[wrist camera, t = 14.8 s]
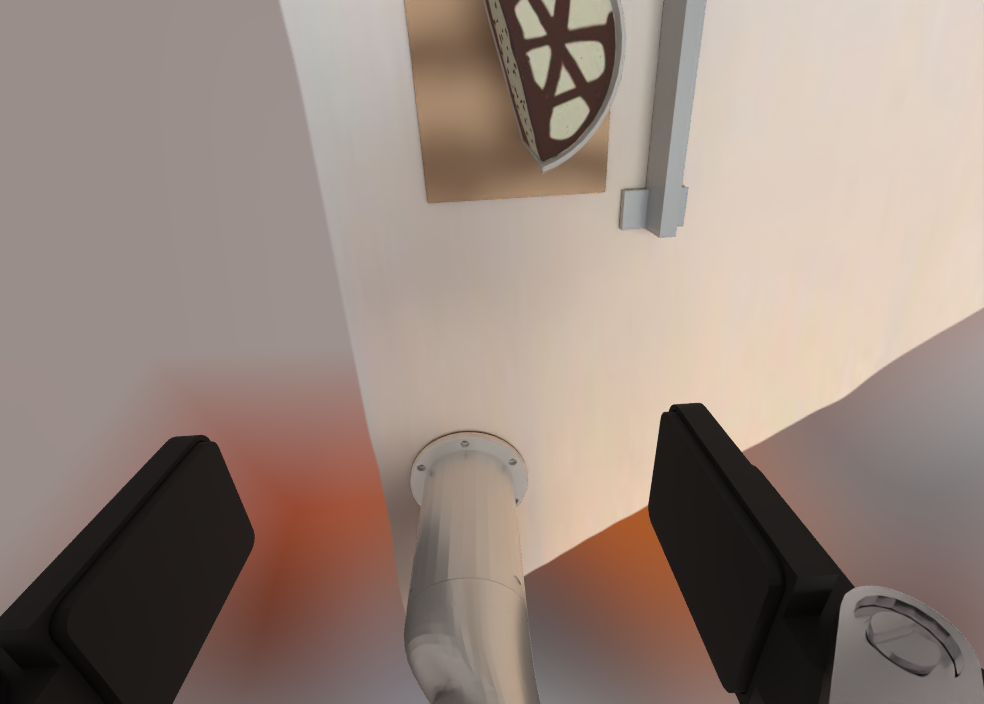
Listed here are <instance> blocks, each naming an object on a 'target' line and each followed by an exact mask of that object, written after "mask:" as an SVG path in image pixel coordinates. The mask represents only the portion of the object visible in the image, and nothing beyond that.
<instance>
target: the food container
mask: <svg viewBox="0 0 984 704" xmlns="http://www.w3.org/2000/svg"><path fill="white" fill-rule="evenodd" d="M483 3H484V6H485V10H486V13H487V17H488V21H489V24H490V28H491V32H492V35H493V39H494V43H495V46H496V50H497V53H498V57H499V61H500V64H501V68H502V72H503V75H504V79H505V83H506V86H507V90H508V93H509V97H510V101H511V104H512V108H513V112H514V115H515V119H516V123H517V126H518V130H519V133H520V137H521V141H522V143H523V144H524V146H525V147H526V148H527V149H528V151H529V152H530V153H531V154H532V156H533V157H534V158H535V160H536V161H537V162H538V163H539V165H540V166H541V167H542V170H541V174H543V173H546V172H548V171H550V170H552V169H554V168H556V167H558V166H559V165H561V164H562V163H564V162H565V161H567V160H568V159H570V158H571V157H572V156H573V155H574V154H576V153H577V152H578V151H579V150H580V149H581V148H582V147H583V146H584V145H585V144H586V143H587V142H588V140H589V139H590V138H591V137H592V136H593V135H594V133H595V132H596V131H597V130H598V128H599V126H600V125H601V123H602V122H603V120H604V119H605V117H606V115H607V113H608V111H609V109H610V107H611V105H612V103H613V100H614V98H615V96H616V93H617V89H618V86H619V83H620V80H621V76H622V70H623V64H624V59H625V41H626V33H625V22H624V13H623V8H622V4H621V0H483Z"/></svg>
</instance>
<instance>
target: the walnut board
mask: <svg viewBox="0 0 984 704" xmlns="http://www.w3.org/2000/svg"><path fill="white" fill-rule="evenodd" d="M405 8H406V17H407V25H408V34H409V43H410V52H411V60H412V69H413V78H414V86H415V95H416V104H417V113H418V121H419V130H420V139H421V147H422V156H423V165H424V174H425V182H426V191H427V200H428V203H439V202H455V201H471V200H487V199H503V198H519V197H535V196H552V195H568V194H584V193H600V192H605V188H606V171H607V154H608V137H609V120H610V109H609V111H608V113H607V115H606V117H605V119H604V120H603V122H602V123H601V125H600V126H599V128H598V130H597V131H596V132H595V133H594V135H593V136H592V137H591V138H590V139H589V140H588V142H587V143H586V144H585V145H584V146H583V147H582V148H581V149H580V150H579V151H578V152H577V153H576V154H574V155H573V156H572V157H571V158H570V159H568V160H567V161H565V162H564V163H562V164H561V165H559V166H558V167H556V168H554V169H552V170H550V171H548V172H546V173H543V174H541V170H542V167H541V166H540V165H539V163H538V162H537V161H536V160H535V158H534V157H533V156H532V154H531V153H530V152H529V151H528V149H527V148H526V147H525V146H524V144H523V143H522V141H521V137H520V133H519V130H518V126H517V123H516V119H515V115H514V112H513V108H512V104H511V101H510V97H509V93H508V90H507V86H506V83H505V79H504V75H503V72H502V68H501V64H500V61H499V57H498V53H497V50H496V46H495V43H494V39H493V35H492V32H491V28H490V24H489V21H488V17H487V13H486V10H485V6H484V3H483V0H405Z"/></svg>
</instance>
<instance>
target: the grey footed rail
mask: <svg viewBox="0 0 984 704" xmlns="http://www.w3.org/2000/svg"><path fill="white" fill-rule="evenodd" d="M705 8H706V0H664V5H663V15H662V25H661V36H660V46H659V56H658V67H657V77H656V87H655V98H654V108H653V118H652V129H651V139H650V149H649V160H648V170H647V180H646V188H645V189H629V190H622V197H621V211H620V224H619V228H620V229H621V230H630V229H647V230H648V231H650V232H651V233H653V234H654V235H656V236H658V237H659V238H664V237H675V236H676V228H677V227H678V226H683V223H684V216H685V209H686V201H687V194H688V187H686V186H682V182H683V175H684V167H685V160H686V152H687V144H688V137H689V129H690V122H691V114H692V106H693V99H694V91H695V84H696V76H697V68H698V61H699V53H700V46H701V38H702V30H703V23H704V15H705Z"/></svg>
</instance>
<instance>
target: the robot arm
mask: <svg viewBox="0 0 984 704" xmlns="http://www.w3.org/2000/svg"><path fill="white" fill-rule="evenodd" d="M527 482H528V479H527V471H526V467H525V464H524V461H523V460H522V458H521V456H520V454H519V453H518V452H517V451H516V450H515V449H514V448H513V447H512V446H511V445H509V444H508V443H506V442H505V441H503V440H501V439H499V438H497V437H494V436H491V435H488V434H483V433H476V432H461V433H456V434H450V435H447V436H445V437H442V438H439V439H437V440H436V441H434V442H432V443H430V444H429V445H428V446H427V447H425V448H424V449H423V450H422V451H421V452H420V454H419V455H418V456H417V457H416V459H415V462H414V464H413V466H412V470H411V475H410V488H411V493H412V495H413V497H414V499H415V501H416V502H417V504H418V505H419V506H420V507H421V510H420V517H419V524H418V531H417V539H416V546H415V553H414V560H413V568H412V575H411V582H410V589H409V597H408V604H407V611H406V619H405V627H404V644H405V652H406V656H407V660H408V663H409V666H410V668H411V670H412V673H413V675H414V677H415V679H416V681H417V682H418V684H419V686H420V688H421V690H422V691H423V693H424V695H425V696H426V698H427V699H428V701H429V702H430V704H540V699H539V694H538V689H537V683H536V678H535V672H534V665H533V657H532V650H531V642H530V633H529V624H528V615H527V606H526V596H525V587H524V577H523V568H522V558H521V549H520V540H519V530H518V521H517V511H516V507H517V506H518V505H519V504H520V502H521V501H522V499H523V497H524V495H525V492H526V490H527ZM648 510H649V517H650V521H651V523H652V526H653V528H654V530H655V532H656V535H657V537H658V539H659V542H660V544H661V546H662V548H663V551H664V553H665V556H666V558H667V560H668V562H669V565H670V567H671V569H672V571H673V574H674V576H675V578H676V581H677V583H678V585H679V587H680V590H681V592H682V594H683V597H684V599H685V601H686V604H687V606H688V608H689V611H690V613H691V615H692V617H693V619H694V622H695V624H696V627H697V629H698V631H699V633H700V635H701V638H702V640H703V642H704V645H705V647H706V650H707V652H708V654H709V656H710V659H711V661H712V663H713V665H714V668H715V670H716V672H717V675H718V677H719V679H720V681H721V683H722V685H723V687H724V688H725V690H726V691H727V692H728V693H735V694H736V696H737V698H738V700H739V703H740V704H984V669H982V668H981V667H980V665H979V662H978V659H977V656H976V653H975V651H974V650H973V648H972V647H971V646H970V644H969V643H968V641H967V640H966V639H965V637H964V636H963V635H962V634H961V633H960V632H959V631H958V630H957V629H956V628H955V627H954V626H953V625H952V624H951V623H950V622H949V621H948V620H947V619H946V618H944V617H943V616H942V615H940V614H939V613H937V612H936V611H935V610H933V609H932V608H930V607H929V606H927V605H926V604H924V603H922V602H920V601H918V600H916V599H914V598H912V597H911V596H908V595H907V594H904V593H901V592H898V591H895V590H892V589H889V588H885V587H877V586H862V587H856V588H855V587H854V586H853V585H852V583H851V582H850V581H849V580H848V578H847V577H846V576H845V575H844V573H843V572H842V571H841V570H840V569H839V567H838V566H837V565H836V564H835V562H834V561H833V560H832V559H831V557H830V556H829V555H828V554H827V552H826V551H825V550H824V549H823V547H822V546H821V545H820V544H819V543H818V541H817V540H816V539H815V538H814V536H813V535H812V534H811V533H810V531H809V530H808V529H807V528H806V527H805V525H804V524H803V523H802V522H801V520H800V519H799V518H798V517H797V515H796V514H795V513H794V512H793V510H792V509H791V508H790V507H789V505H788V504H787V503H786V502H785V501H784V499H783V498H782V497H781V496H780V494H779V493H778V492H777V491H776V489H775V488H774V487H773V486H772V485H771V483H770V482H769V481H768V480H767V479H766V477H765V476H764V475H763V473H762V472H761V471H760V470H759V469H758V468H757V467H755V466H753V465H751V464H750V462H749V461H748V460H747V458H746V457H745V456H744V455H743V453H742V452H741V451H740V450H739V448H738V447H737V446H736V445H735V443H734V442H733V441H732V440H731V438H730V437H729V436H728V435H727V433H726V432H725V431H724V430H723V428H722V427H721V426H720V425H719V423H718V422H717V421H716V420H715V418H714V417H713V416H712V415H711V413H710V412H709V411H708V410H707V408H706V407H705V406H704V405H703V404H701V403H689V404H674V405H672V406H671V407H670V409H669V412H664V413H663V414H662V415H661V420H660V427H659V434H658V441H657V448H656V455H655V462H654V469H653V476H652V483H651V490H650V497H649V504H648ZM254 539H255V538H254V530H253V528H252V526H251V523H250V521H249V518H248V516H247V513H246V511H245V509H244V506H243V504H242V502H241V499H240V497H239V494H238V492H237V490H236V487H235V485H234V483H233V480H232V478H231V476H230V473H229V471H228V468H227V466H226V464H225V461H224V459H223V456H222V454H221V452H220V449H219V447H218V445H217V444H216V443H215V442H212V441H210V440H209V438H208V437H206V436H204V435H194V436H180V437H173V438H171V439H169V440H168V441H167V442H166V443H165V444H164V445H163V446H162V447H161V448H160V449H159V450H158V451H157V453H155V454H154V456H153V457H152V458H151V459H150V460H149V461H148V462H147V463H146V464H145V465H144V466H143V467H142V468H141V469H140V470H139V471H138V472H137V474H135V476H134V477H133V478H132V479H131V480H130V481H129V482H128V483H127V484H126V485H125V486H124V487H123V488H122V489H121V490H120V491H119V492H118V493H117V495H116V496H115V497H114V498H113V499H112V500H111V501H110V502H109V503H108V504H107V505H106V506H105V507H104V508H103V509H102V510H101V511H100V512H99V513H98V515H96V517H95V518H94V519H93V520H92V521H91V522H90V523H89V524H88V525H87V526H86V527H85V528H84V529H83V530H82V531H81V532H80V533H79V535H77V536H76V538H75V539H74V540H73V541H72V542H71V543H70V544H69V545H68V546H67V547H66V548H65V549H64V550H63V551H62V552H61V554H59V555H58V556H57V558H56V559H55V560H54V561H53V562H52V563H51V564H50V565H49V566H48V567H47V568H46V569H45V570H44V571H43V572H42V573H41V574H40V575H39V577H37V579H36V580H35V581H34V582H33V583H32V584H31V585H30V586H29V587H28V588H27V589H26V590H25V591H24V592H23V593H22V594H21V595H20V596H19V597H18V599H17V600H16V601H15V602H14V603H13V604H12V605H11V606H10V607H9V608H8V609H7V610H6V611H5V612H4V613H3V614H2V615H1V616H0V704H173V701H174V700H175V697H176V696H177V694H178V692H179V690H180V688H181V686H182V684H183V682H184V680H185V678H186V676H187V674H188V673H189V671H190V669H191V667H192V665H193V663H194V661H195V659H196V657H197V655H198V653H199V651H200V649H201V647H202V645H203V643H204V642H205V639H206V637H207V636H208V634H209V632H210V630H211V628H212V626H213V624H214V622H215V620H216V618H217V616H218V614H219V612H220V611H221V609H222V606H223V605H224V603H225V601H226V599H227V597H228V595H229V593H230V591H231V589H232V587H233V585H234V583H235V581H236V580H237V578H238V576H239V574H240V572H241V570H242V568H243V566H244V564H245V562H246V560H247V558H248V556H249V554H250V552H251V550H252V548H253V544H254Z"/></svg>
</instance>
